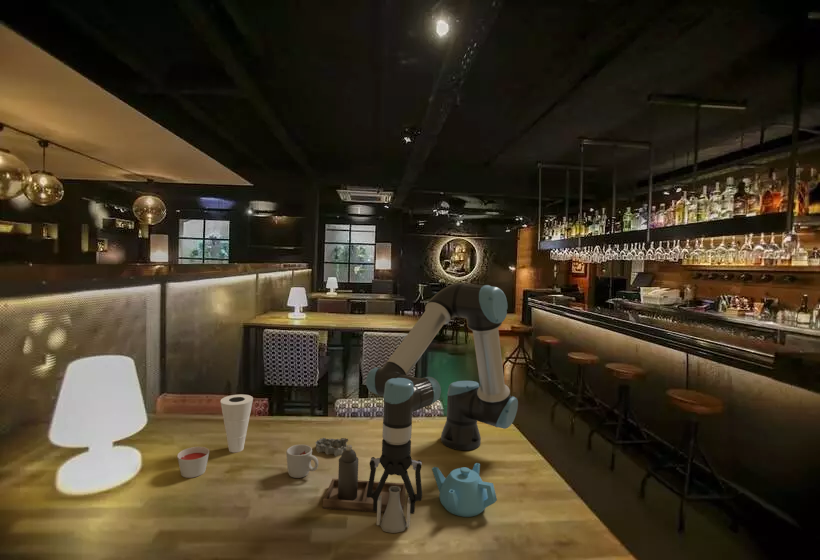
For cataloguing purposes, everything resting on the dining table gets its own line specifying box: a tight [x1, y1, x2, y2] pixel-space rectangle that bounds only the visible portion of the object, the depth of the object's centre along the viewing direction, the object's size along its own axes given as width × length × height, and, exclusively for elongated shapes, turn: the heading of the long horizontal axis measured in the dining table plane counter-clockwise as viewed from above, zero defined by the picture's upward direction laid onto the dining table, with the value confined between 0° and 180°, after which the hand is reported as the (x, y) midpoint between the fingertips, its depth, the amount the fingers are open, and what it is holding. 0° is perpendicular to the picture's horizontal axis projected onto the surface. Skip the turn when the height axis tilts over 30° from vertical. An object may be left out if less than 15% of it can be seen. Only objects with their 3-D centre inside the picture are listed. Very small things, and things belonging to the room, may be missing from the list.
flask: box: [379, 486, 407, 534], centre depth 116 cm, size 7×7×10 cm
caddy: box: [322, 478, 407, 514], centre depth 127 cm, size 22×12×2 cm, turn 87°
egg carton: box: [314, 437, 349, 457], centre depth 157 cm, size 11×8×4 cm
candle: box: [177, 446, 210, 479], centre depth 138 cm, size 9×9×6 cm
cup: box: [285, 444, 319, 479], centre depth 139 cm, size 11×8×8 cm
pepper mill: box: [337, 444, 359, 501], centre depth 127 cm, size 6×6×15 cm
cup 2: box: [220, 394, 254, 453], centre depth 154 cm, size 11×11×18 cm
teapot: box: [431, 462, 498, 518], centre depth 126 cm, size 15×15×11 cm
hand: (393, 523), depth 116 cm, fingers closed on flask, 7 cm apart
